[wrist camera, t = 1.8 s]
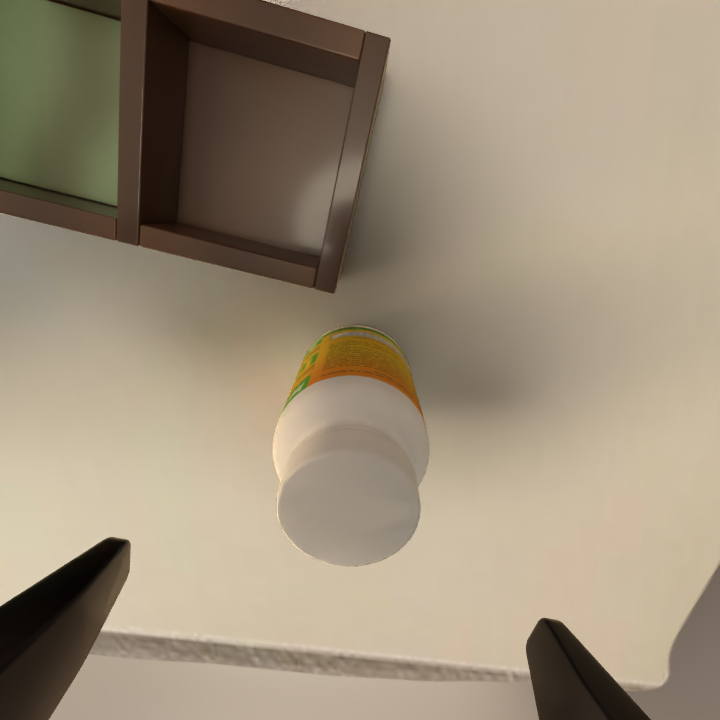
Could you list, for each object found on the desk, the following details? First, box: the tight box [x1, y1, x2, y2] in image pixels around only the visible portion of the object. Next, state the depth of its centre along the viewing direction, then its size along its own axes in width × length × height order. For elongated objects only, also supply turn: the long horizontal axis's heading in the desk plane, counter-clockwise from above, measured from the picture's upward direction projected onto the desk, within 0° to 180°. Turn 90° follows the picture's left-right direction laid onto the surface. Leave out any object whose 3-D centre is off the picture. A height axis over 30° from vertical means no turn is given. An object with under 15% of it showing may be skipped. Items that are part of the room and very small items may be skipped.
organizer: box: [0, 0, 391, 293], centre depth 14 cm, size 15×8×4 cm, turn 76°
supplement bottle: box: [272, 325, 429, 566], centre depth 15 cm, size 5×5×10 cm
